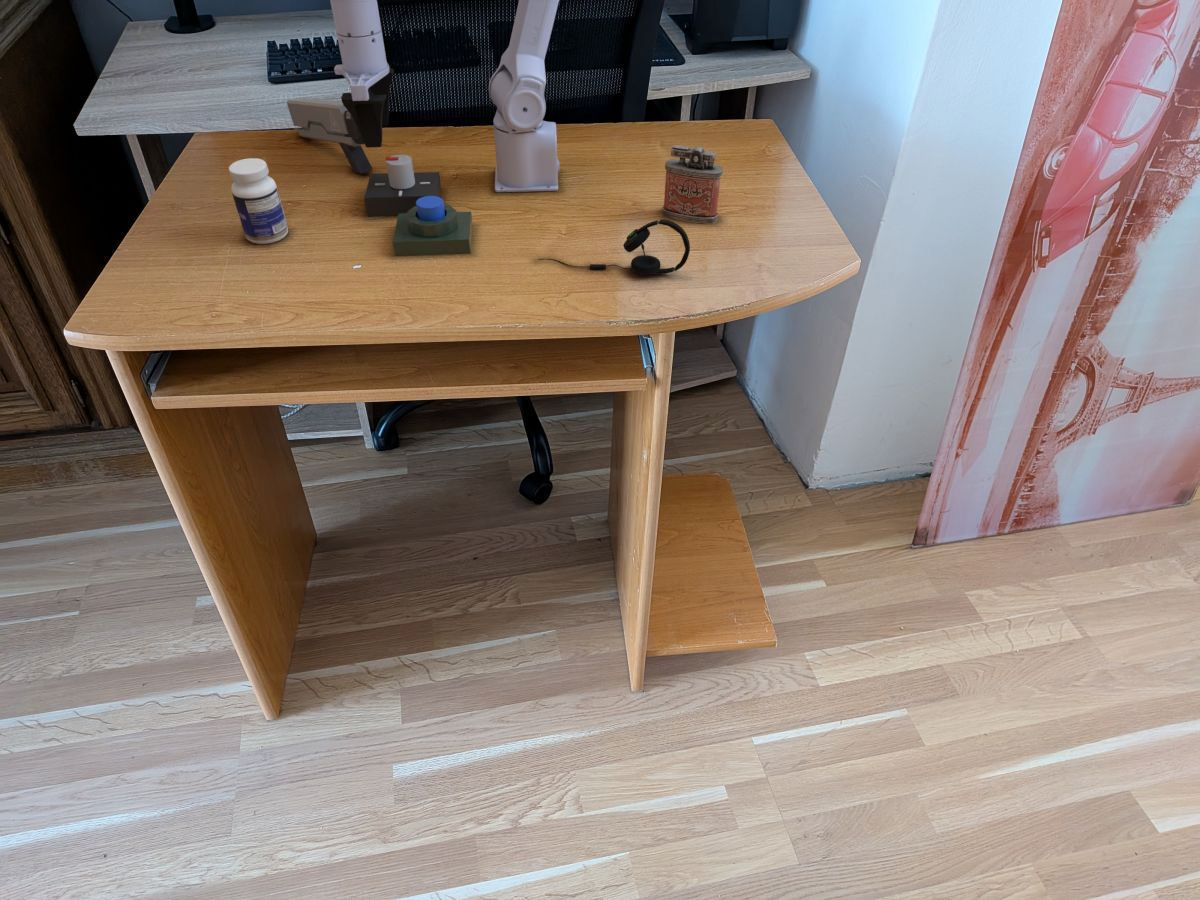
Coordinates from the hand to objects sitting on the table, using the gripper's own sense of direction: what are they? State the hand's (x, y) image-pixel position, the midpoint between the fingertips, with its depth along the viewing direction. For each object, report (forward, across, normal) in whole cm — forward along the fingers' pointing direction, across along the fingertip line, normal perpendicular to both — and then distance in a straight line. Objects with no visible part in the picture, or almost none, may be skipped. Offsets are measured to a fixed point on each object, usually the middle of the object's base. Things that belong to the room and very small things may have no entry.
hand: (377, 135), depth 117 cm
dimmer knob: (+6, +2, +3) cm, 7 cm away
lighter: (+10, +8, +44) cm, 45 cm away
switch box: (+10, +13, +8) cm, 18 cm away
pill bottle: (+10, +10, -15) cm, 21 cm away
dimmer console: (+10, +2, +3) cm, 10 cm away
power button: (+6, +13, +8) cm, 16 cm away
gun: (+10, -17, -10) cm, 22 cm away
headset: (+10, +20, +32) cm, 39 cm away
